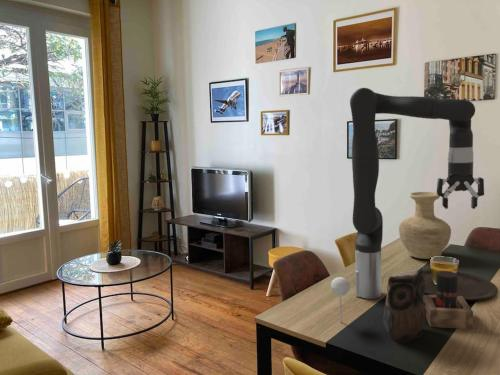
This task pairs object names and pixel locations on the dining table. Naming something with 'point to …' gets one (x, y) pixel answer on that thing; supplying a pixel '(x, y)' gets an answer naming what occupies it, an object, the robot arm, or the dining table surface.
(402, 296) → the owl
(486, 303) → the dining table surface
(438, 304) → the deodorant
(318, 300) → the dining table surface
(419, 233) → the vase
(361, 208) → the robot arm
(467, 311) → the socket block
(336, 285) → the lollipop
